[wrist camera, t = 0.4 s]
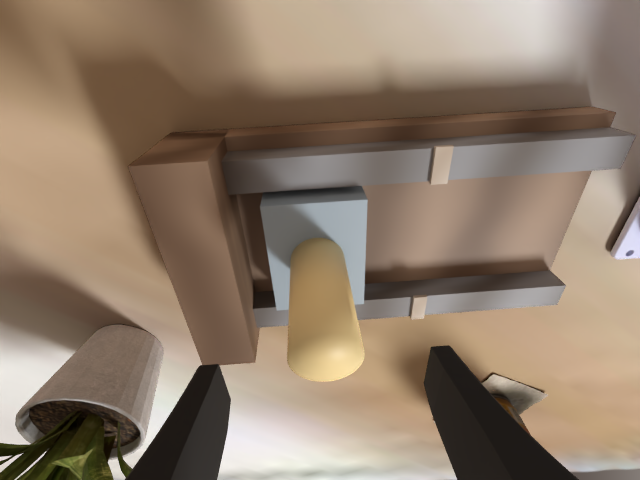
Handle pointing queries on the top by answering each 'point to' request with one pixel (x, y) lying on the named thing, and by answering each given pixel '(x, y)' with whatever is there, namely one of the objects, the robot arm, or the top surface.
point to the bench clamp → (376, 211)
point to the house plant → (89, 409)
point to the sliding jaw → (318, 275)
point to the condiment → (513, 395)
